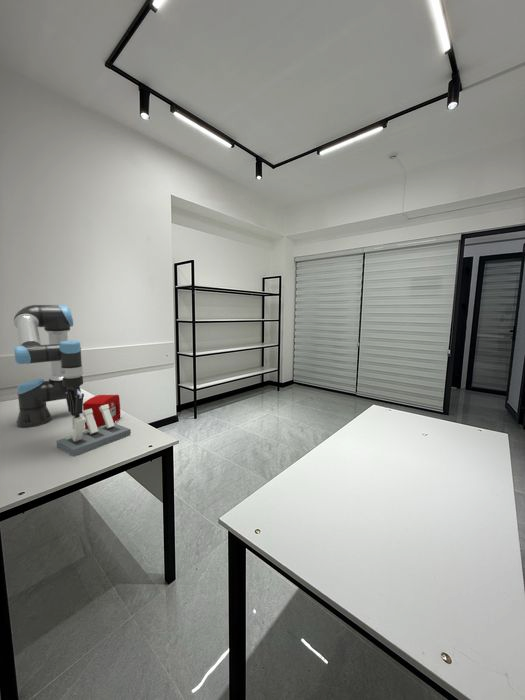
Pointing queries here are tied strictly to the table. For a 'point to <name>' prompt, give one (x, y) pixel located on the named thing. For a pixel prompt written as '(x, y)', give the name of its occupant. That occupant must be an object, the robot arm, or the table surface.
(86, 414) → the handle
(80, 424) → the handle
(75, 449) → the breaker panel
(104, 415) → the handle
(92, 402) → the fire alarm
